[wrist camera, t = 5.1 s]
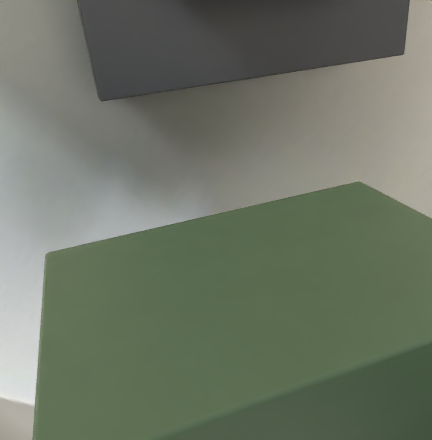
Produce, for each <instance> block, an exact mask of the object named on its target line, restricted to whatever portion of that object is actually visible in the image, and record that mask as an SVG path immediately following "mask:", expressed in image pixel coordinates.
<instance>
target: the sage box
mask: <svg viewBox="0 0 432 440" xmlns="http://www.w3.org/2000/svg"><path fill="white" fill-rule="evenodd" d="M33 427H34V428H33V440H432V219H431V218H429V217H427V216H425V215H423V214H422V213H420V212H418V211H416V210H414V209H412V208H410V207H408V206H406V205H404V204H402V203H400V202H398V201H397V200H395V199H393V198H391V197H389V196H387V195H385V194H383V193H381V192H379V191H377V190H375V189H373V188H372V187H370V186H368V185H366V184H364V183H362V182H354V183H350V184H346V185H341V186H337V187H333V188H328V189H324V190H319V191H315V192H311V193H306V194H302V195H298V196H293V197H289V198H284V199H280V200H276V201H271V202H267V203H263V204H258V205H254V206H249V207H245V208H241V209H236V210H232V211H228V212H223V213H219V214H214V215H210V216H206V217H201V218H197V219H193V220H188V221H184V222H179V223H175V224H171V225H166V226H162V227H158V228H153V229H149V230H145V231H140V232H136V233H131V234H127V235H123V236H118V237H114V238H110V239H105V240H101V241H96V242H92V243H88V244H83V245H79V246H75V247H70V248H66V249H61V250H57V251H53V252H49V253H47V254H46V256H45V268H44V283H43V297H42V311H41V326H40V340H39V354H38V369H37V383H36V397H35V412H34V426H33Z"/></svg>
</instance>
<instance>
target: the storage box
mask: <svg viewBox="0 0 432 440" xmlns="http://www.w3.org/2000/svg"><path fill="white" fill-rule="evenodd" d="M409 1H410V0H77V3H78V8H79V12H80V17H81V21H82V26H83V30H84V35H85V40H86V44H87V49H88V53H89V58H90V62H91V67H92V72H93V76H94V81H95V85H96V90H97V94H98V97H99V99H100V101H108V100H115V99H121V98H128V97H134V96H141V95H147V94H154V93H160V92H166V91H173V90H179V89H186V88H192V87H199V86H205V85H212V84H218V83H225V82H231V81H237V80H244V79H250V78H257V77H263V76H270V75H276V74H283V73H289V72H296V71H302V70H308V69H315V68H321V67H328V66H334V65H341V64H347V63H354V62H360V61H367V60H373V59H379V58H386V57H392V56H399V55H403V54H404V49H405V40H406V30H407V21H408V11H409Z"/></svg>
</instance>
